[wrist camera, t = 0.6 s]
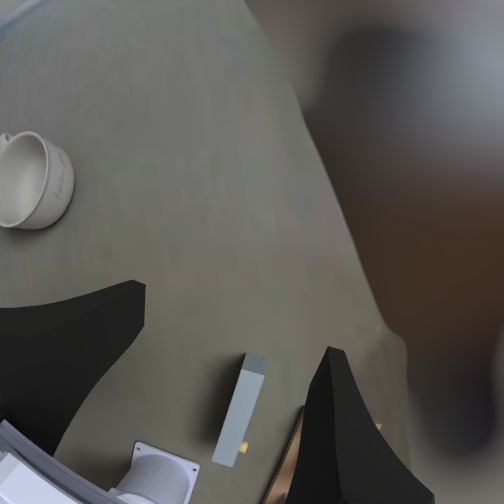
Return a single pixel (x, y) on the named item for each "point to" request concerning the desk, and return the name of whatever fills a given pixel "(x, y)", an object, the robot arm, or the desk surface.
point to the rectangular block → (240, 410)
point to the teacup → (33, 181)
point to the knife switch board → (289, 466)
